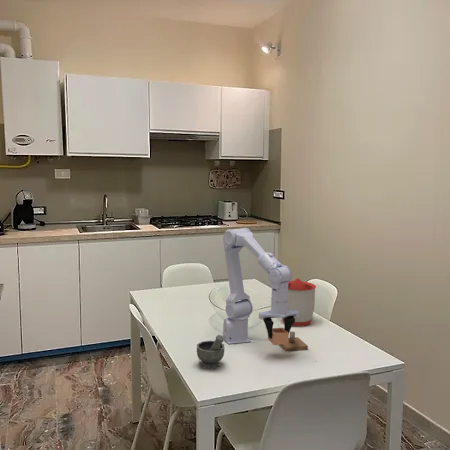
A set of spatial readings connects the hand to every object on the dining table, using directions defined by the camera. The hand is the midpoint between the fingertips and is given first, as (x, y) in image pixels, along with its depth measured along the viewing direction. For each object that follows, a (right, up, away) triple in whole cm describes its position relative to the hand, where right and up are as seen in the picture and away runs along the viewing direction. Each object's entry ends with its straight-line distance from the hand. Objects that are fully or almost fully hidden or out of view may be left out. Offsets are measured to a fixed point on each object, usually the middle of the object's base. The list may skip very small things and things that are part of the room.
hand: (278, 336), depth 164 cm
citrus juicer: (+12, -3, +38) cm, 40 cm away
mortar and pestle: (-24, -8, -8) cm, 26 cm away
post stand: (+7, -6, +11) cm, 14 cm away
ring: (0, -2, 0) cm, 2 cm away
